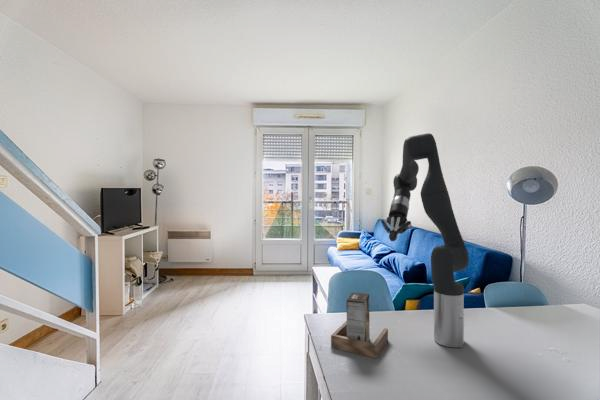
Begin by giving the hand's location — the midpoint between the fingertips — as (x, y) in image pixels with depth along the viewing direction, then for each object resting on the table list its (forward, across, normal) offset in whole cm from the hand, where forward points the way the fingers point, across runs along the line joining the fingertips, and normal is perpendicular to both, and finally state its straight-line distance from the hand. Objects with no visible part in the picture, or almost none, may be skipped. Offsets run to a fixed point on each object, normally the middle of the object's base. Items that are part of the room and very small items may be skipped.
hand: (392, 240), depth 132 cm
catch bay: (+42, -4, +3) cm, 43 cm away
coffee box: (+42, -5, +3) cm, 43 cm away
